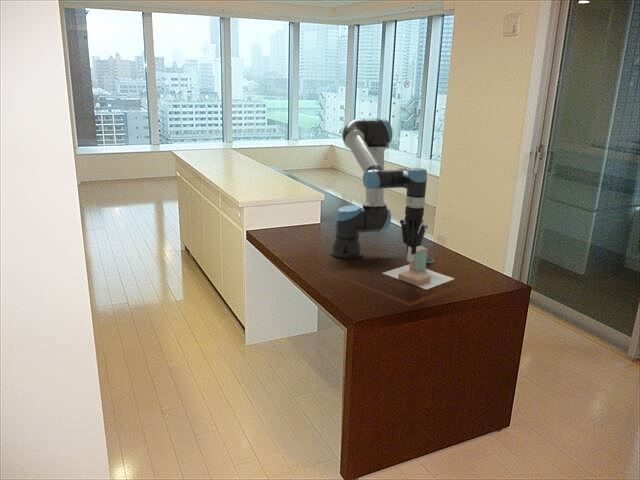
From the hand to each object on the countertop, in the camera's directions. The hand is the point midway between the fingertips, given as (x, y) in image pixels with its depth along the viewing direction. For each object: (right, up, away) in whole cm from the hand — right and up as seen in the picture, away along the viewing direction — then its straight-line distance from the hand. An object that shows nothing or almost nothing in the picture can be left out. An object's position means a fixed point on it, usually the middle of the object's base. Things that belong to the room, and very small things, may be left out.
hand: (410, 260), depth 223 cm
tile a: (-2, -6, +4) cm, 7 cm away
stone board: (+4, -8, +6) cm, 11 cm away
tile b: (+5, -5, +11) cm, 13 cm away
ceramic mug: (+10, -2, +26) cm, 28 cm away
